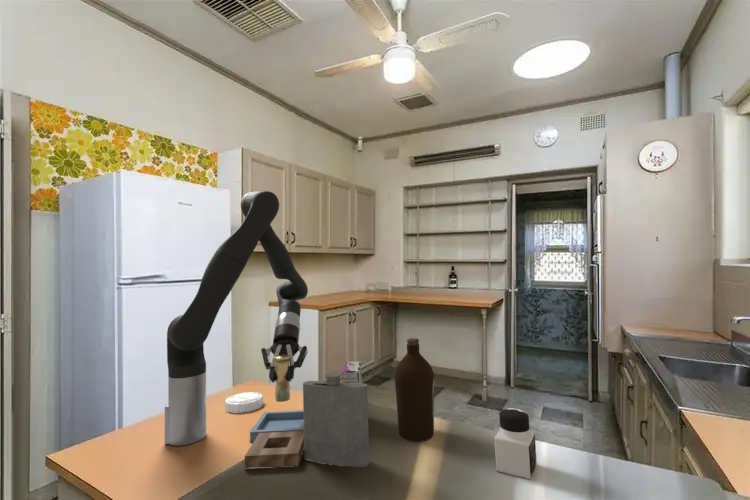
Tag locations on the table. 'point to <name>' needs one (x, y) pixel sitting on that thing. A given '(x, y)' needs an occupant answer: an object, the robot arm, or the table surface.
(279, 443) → the walnut pin block
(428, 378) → the olive oil
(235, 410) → the mooncake
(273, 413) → the slate tray
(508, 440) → the medicine bottle
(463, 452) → the table surface
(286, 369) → the brass pin
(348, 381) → the candy bar box
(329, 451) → the hip flask
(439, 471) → the table surface
